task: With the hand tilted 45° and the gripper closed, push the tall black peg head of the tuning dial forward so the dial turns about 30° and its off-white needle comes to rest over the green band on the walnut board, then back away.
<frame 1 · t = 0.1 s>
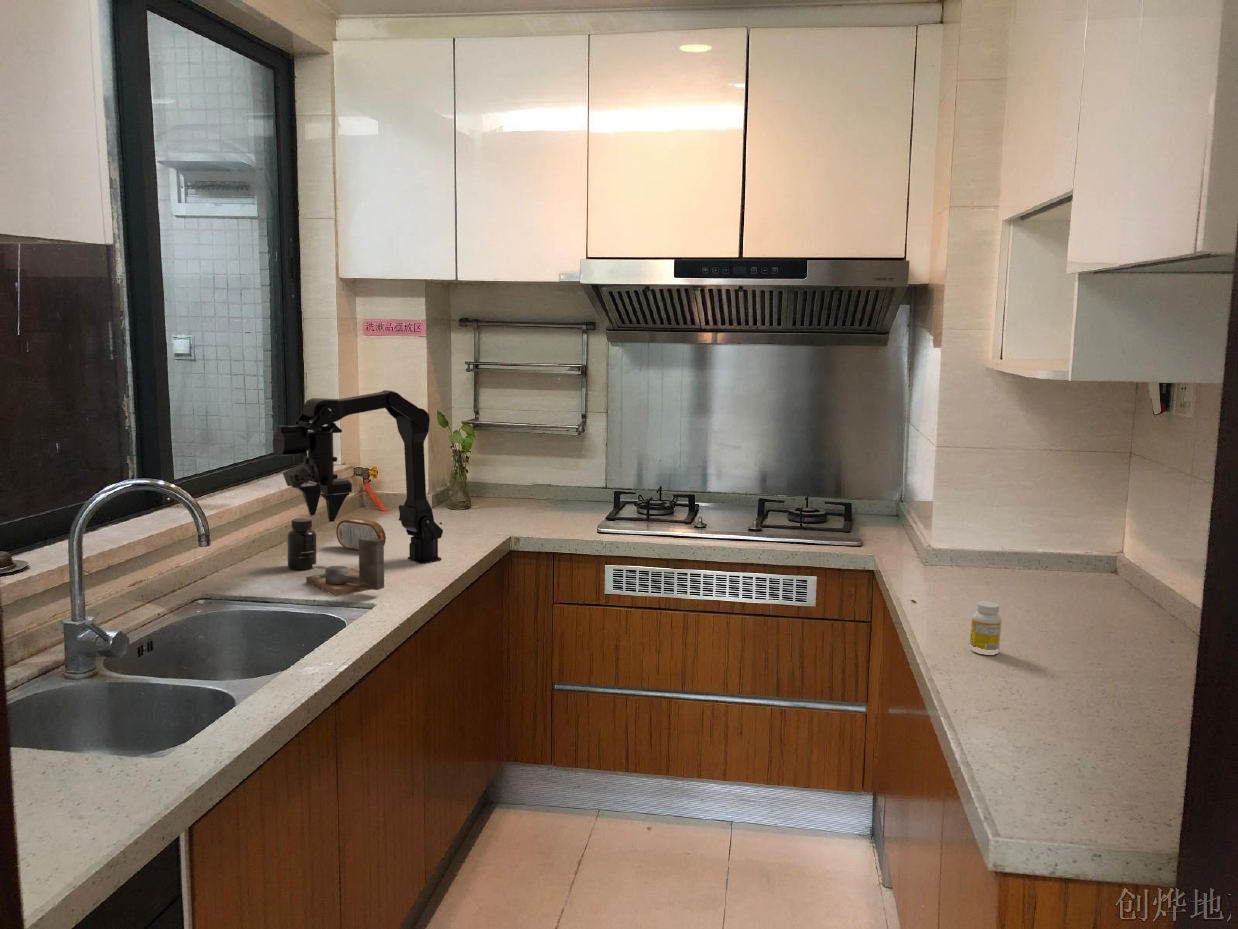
hand: (321, 518, 220), 15 cm above the worktop, tool pointing down, fingers open, 9 cm apart
supplement bottle 2: (983, 652, 182), on the worktop
supplement bottle: (302, 568, 232), on the worktop
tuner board: (344, 584, 217), on the worktop
tin: (360, 551, 251), on the worktop
tuning peg: (346, 559, 211), point 7 cm above the worktop, hinge at 0.0°
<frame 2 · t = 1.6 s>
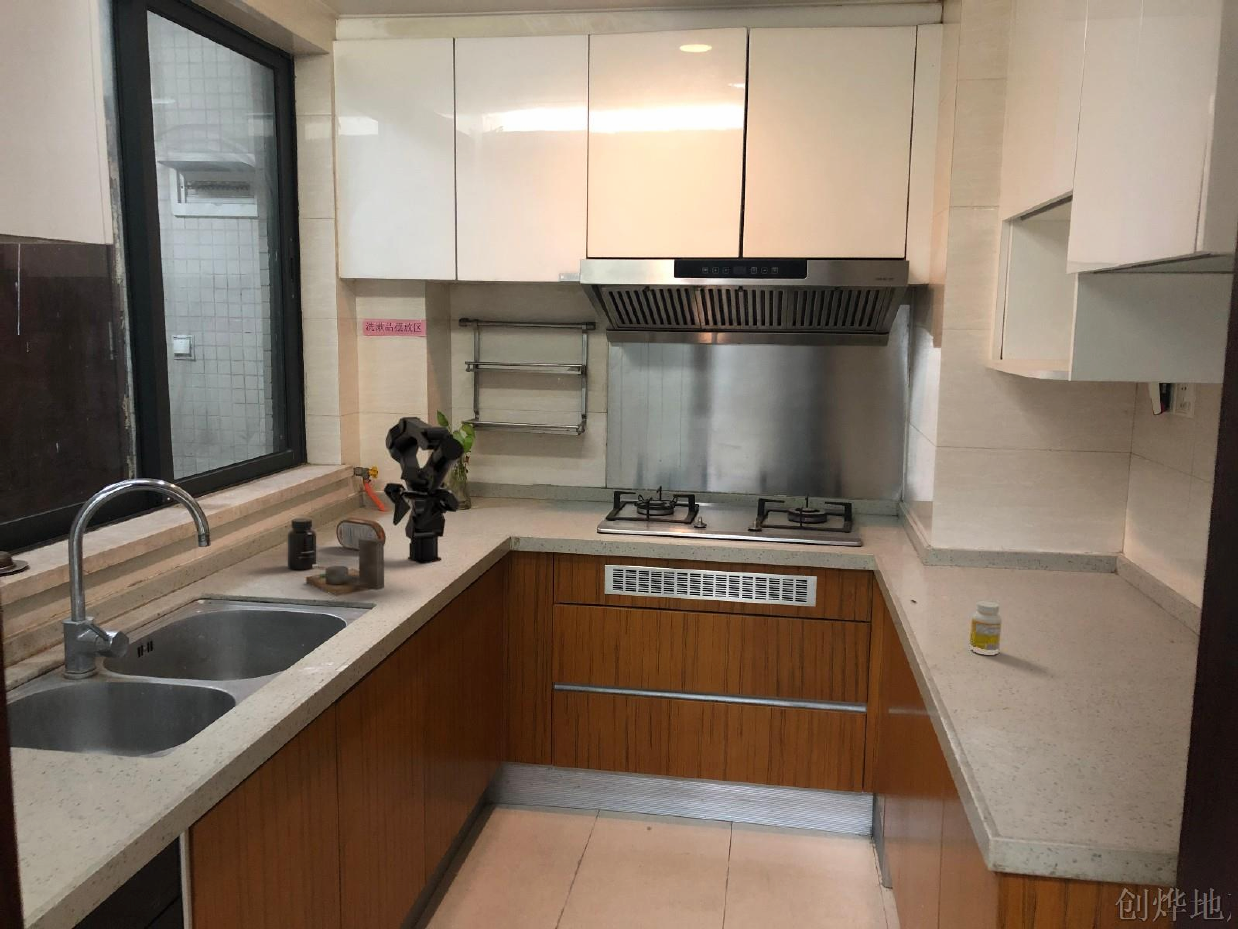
hand: (405, 526, 219), 14 cm above the worktop, tool tilted 45°, fingers open, 6 cm apart
nothing on the worktop moved.
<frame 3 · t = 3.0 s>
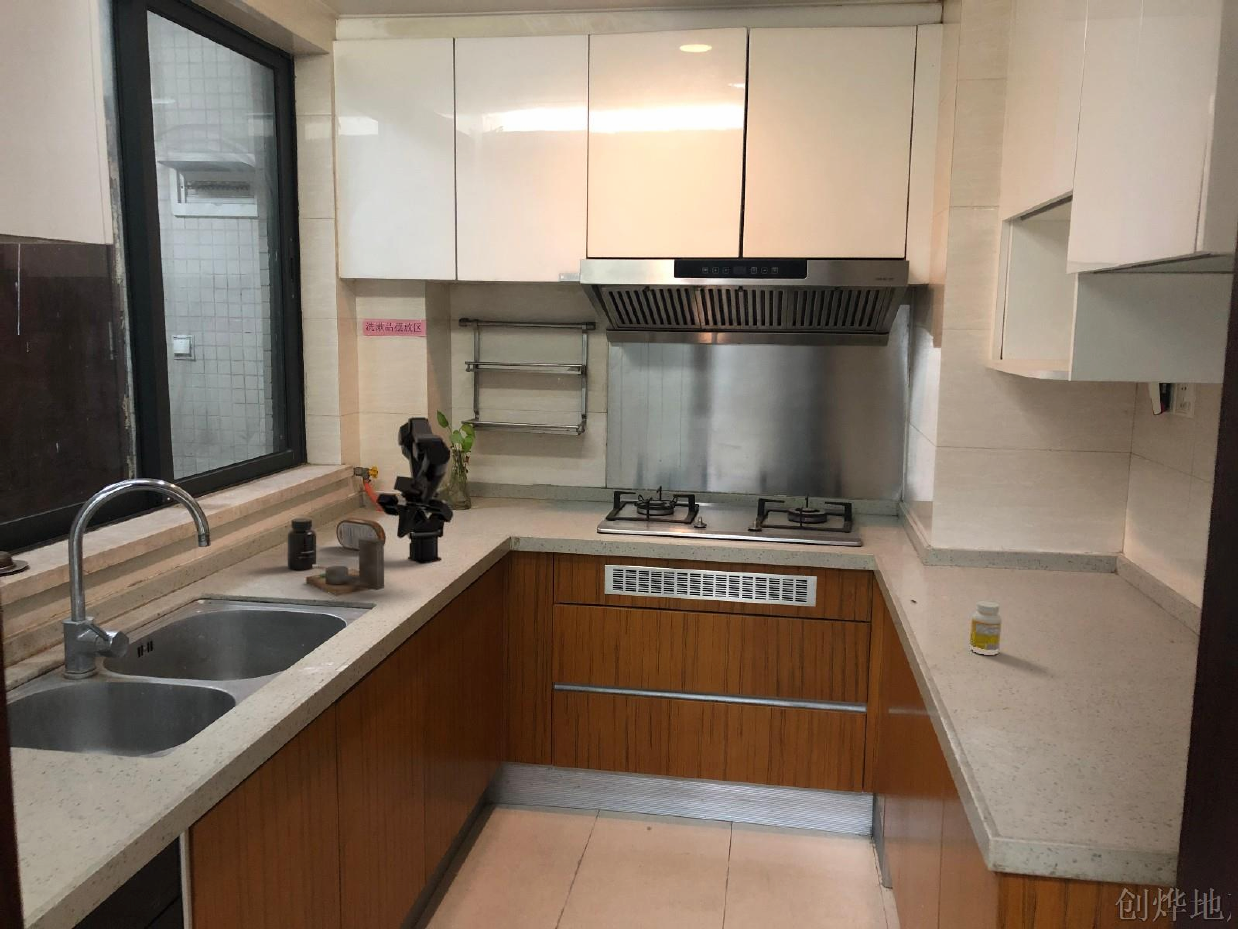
hand: (399, 537, 216), 12 cm above the worktop, tool tilted 45°, fingers closed
nothing on the worktop moved.
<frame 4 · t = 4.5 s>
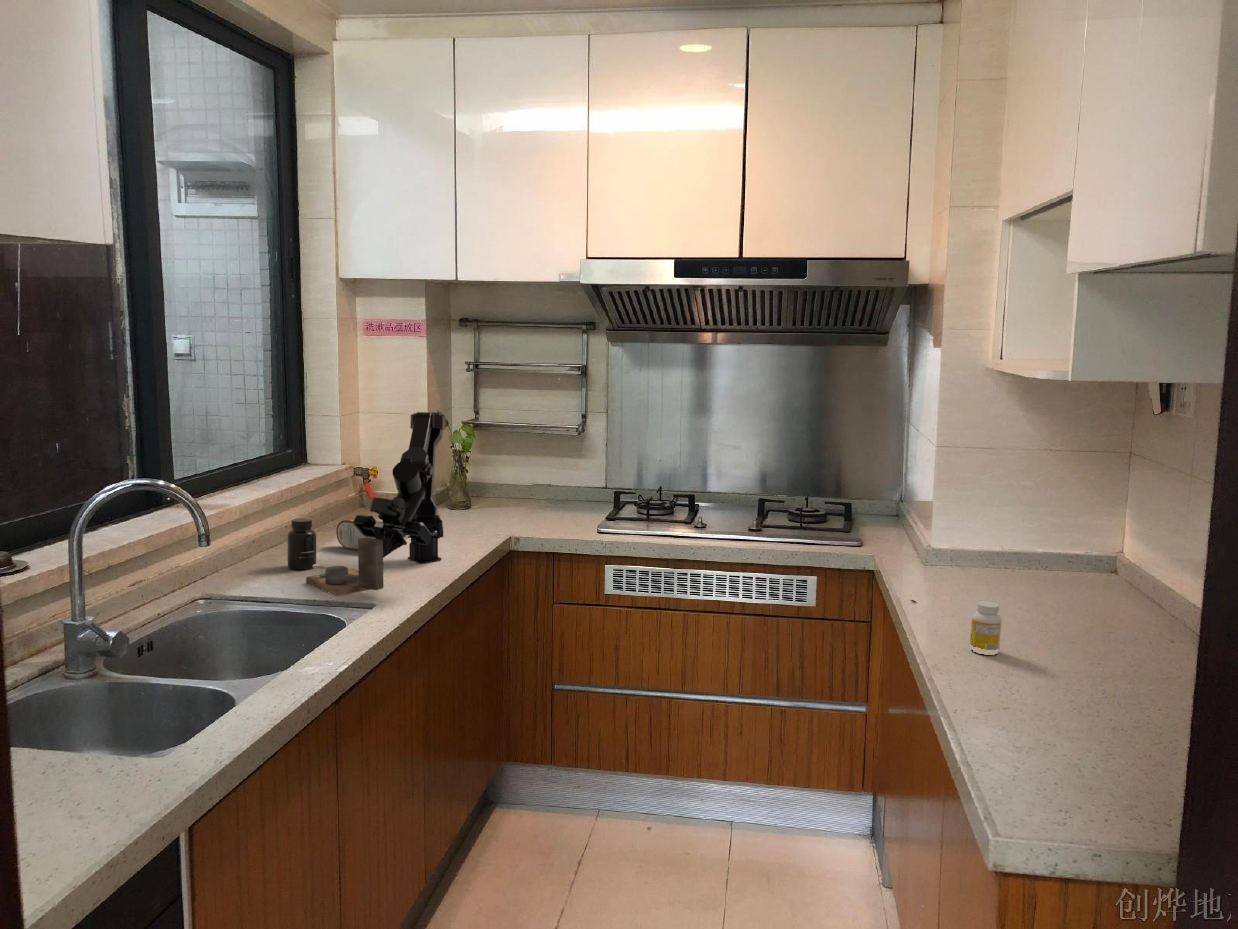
hand: (375, 560, 209), 8 cm above the worktop, tool tilted 45°, fingers closed, pressing on tuning peg
tuning peg: (345, 559, 211), point 7 cm above the worktop, hinge at 1.4°, touching gripper
everything else where it was.
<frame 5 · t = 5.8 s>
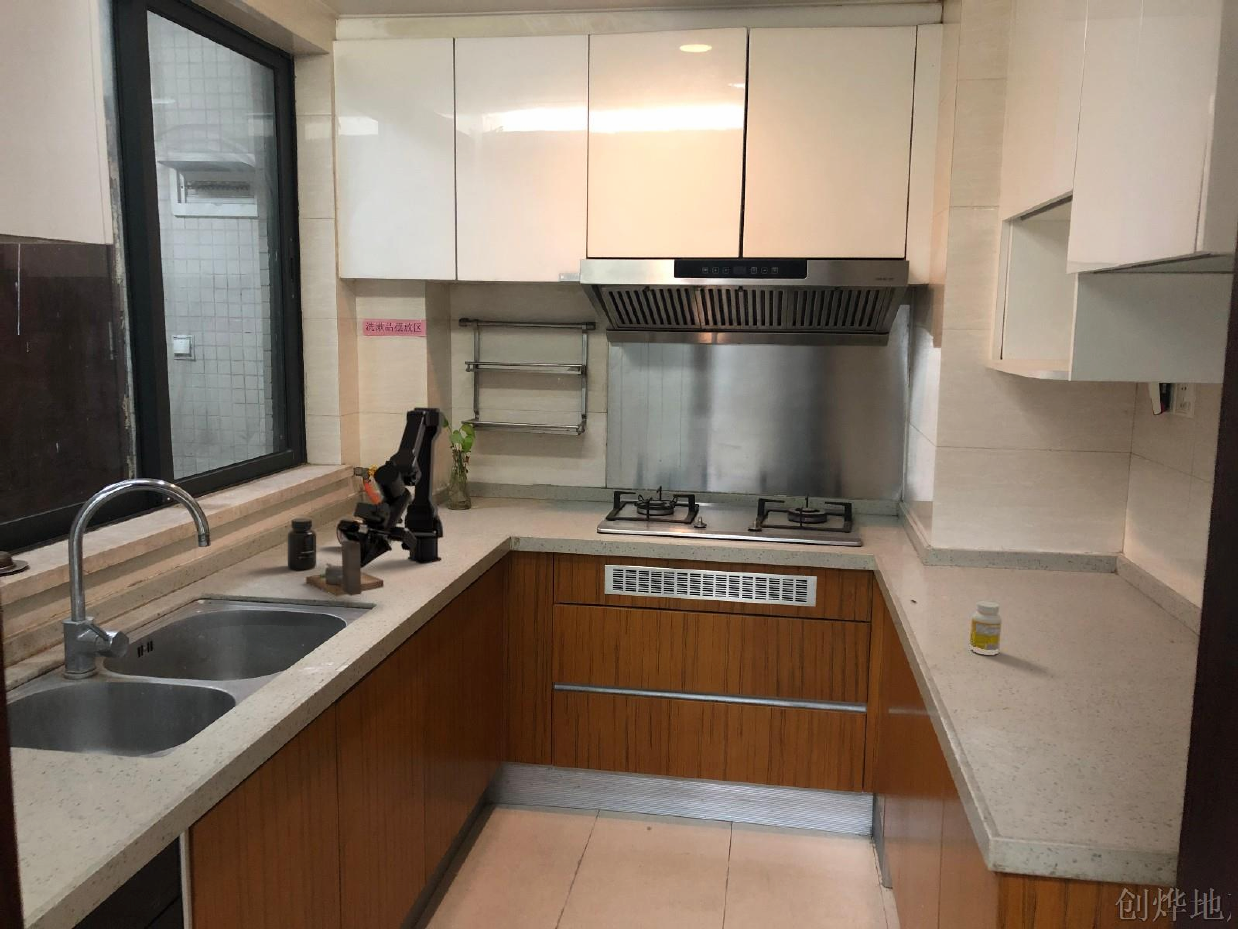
hand: (359, 566, 205), 7 cm above the worktop, tool tilted 45°, fingers closed
tuning peg: (340, 560, 210), point 7 cm above the worktop, hinge at 30.2°, touching gripper
everything else where it was.
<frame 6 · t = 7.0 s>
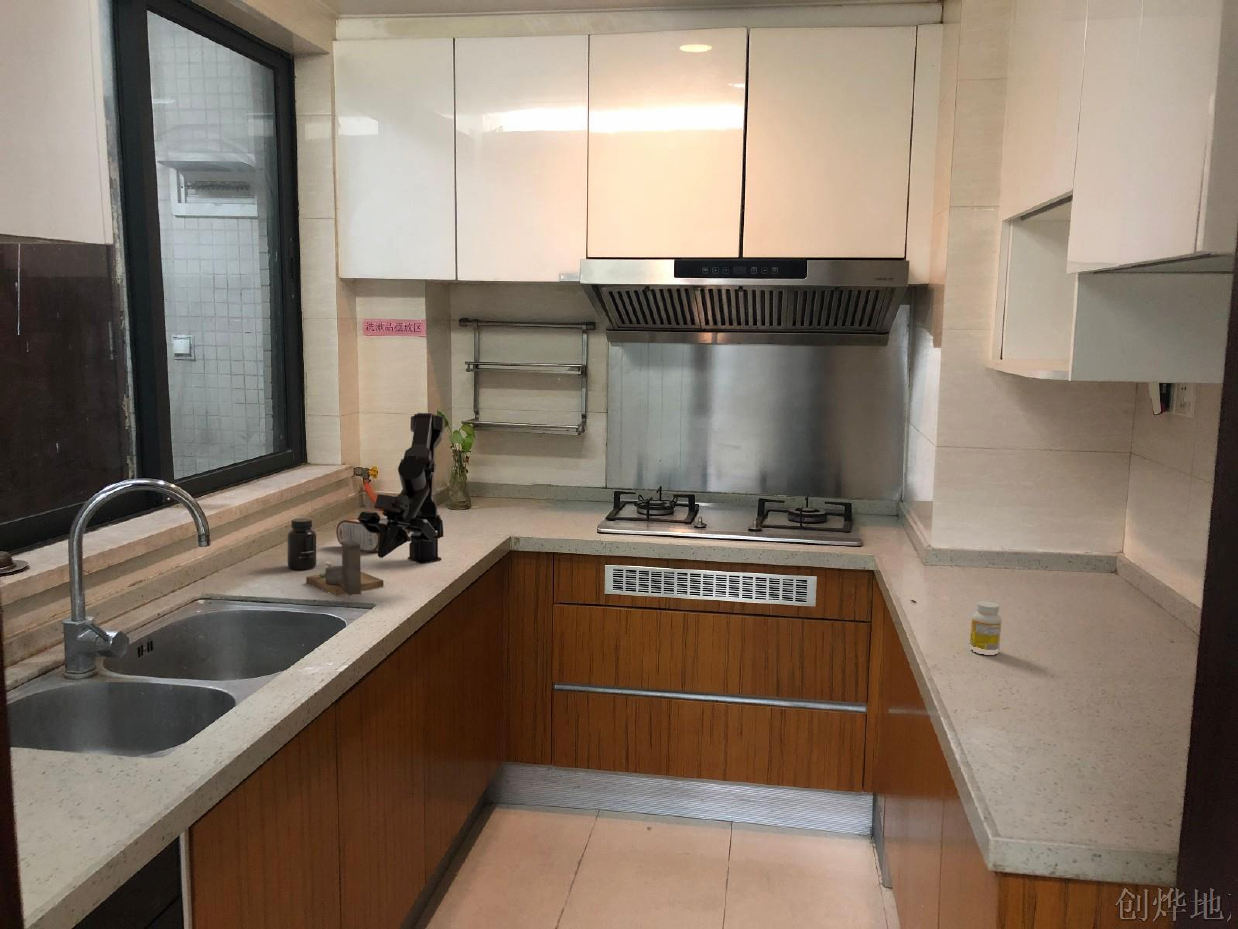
hand: (379, 556, 211), 8 cm above the worktop, tool tilted 45°, fingers closed
tuning peg: (340, 560, 210), point 7 cm above the worktop, hinge at 30.3°
everything else where it was.
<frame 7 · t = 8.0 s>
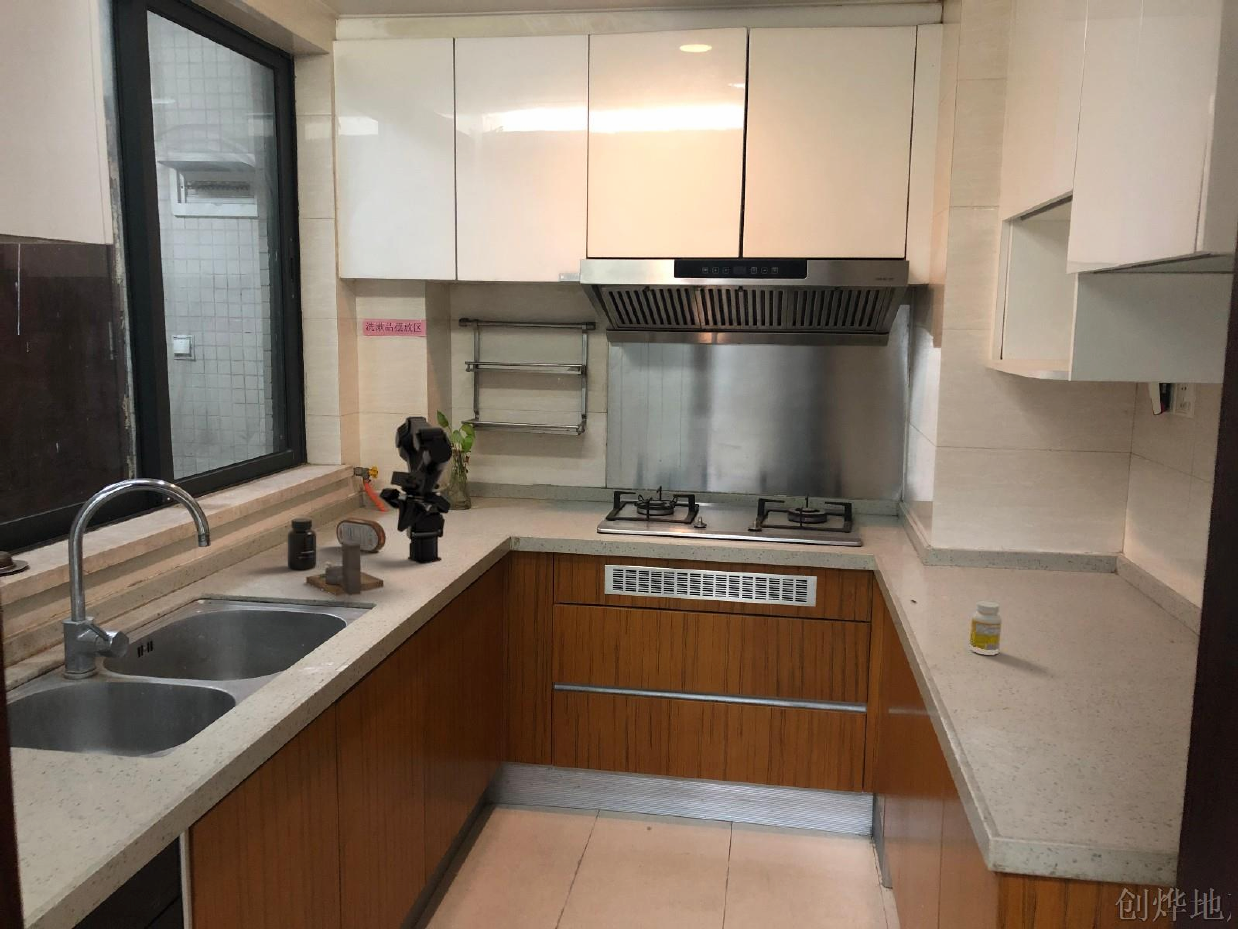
hand: (399, 531, 219), 12 cm above the worktop, tool tilted 40°, fingers closed
nothing on the worktop moved.
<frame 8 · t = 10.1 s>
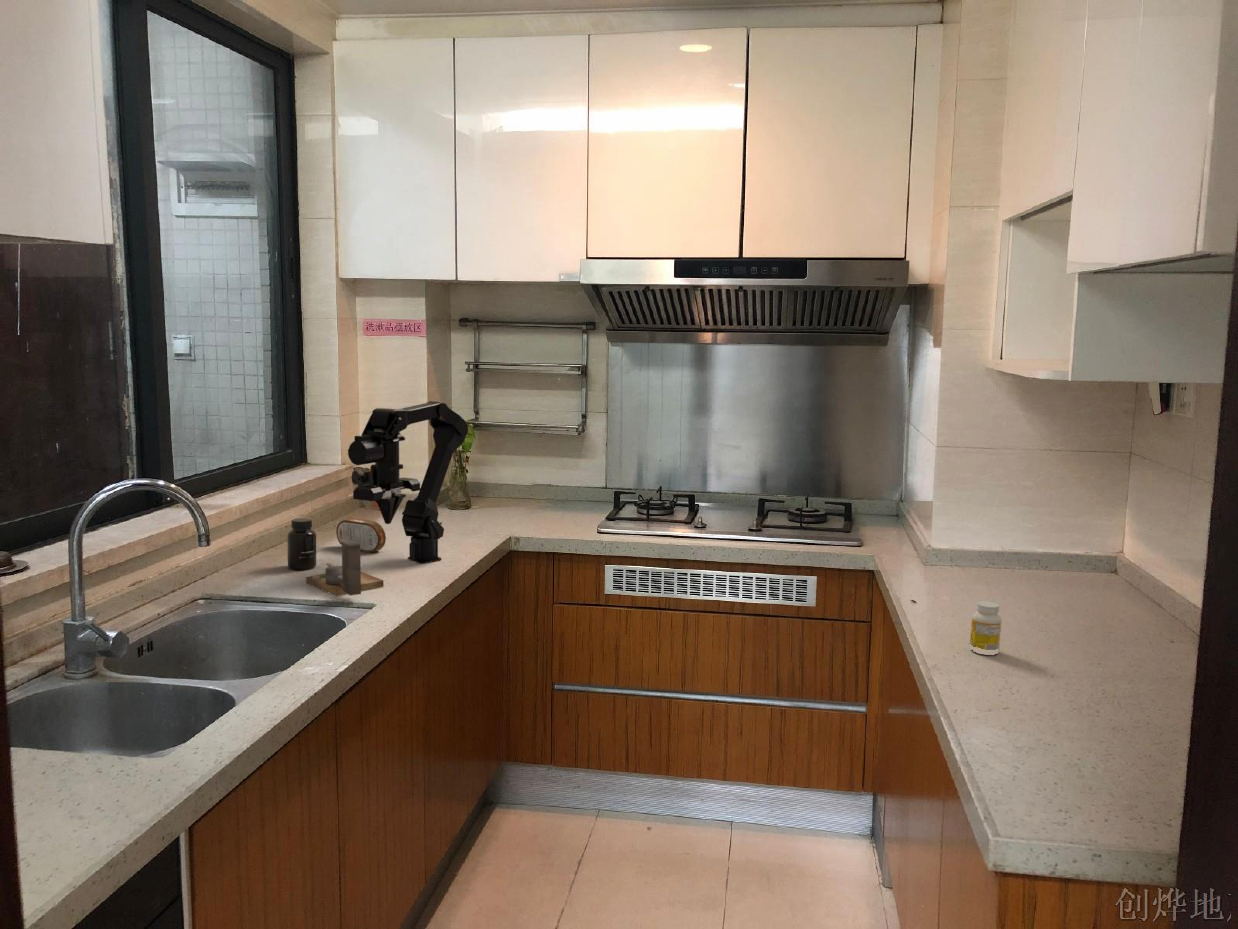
hand: (387, 523, 228), 12 cm above the worktop, tool pointing down, fingers closed
nothing on the worktop moved.
at the end: tuning peg at +30° (first picture: +0°); supplement bottle moved 0.2 cm from its start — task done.
